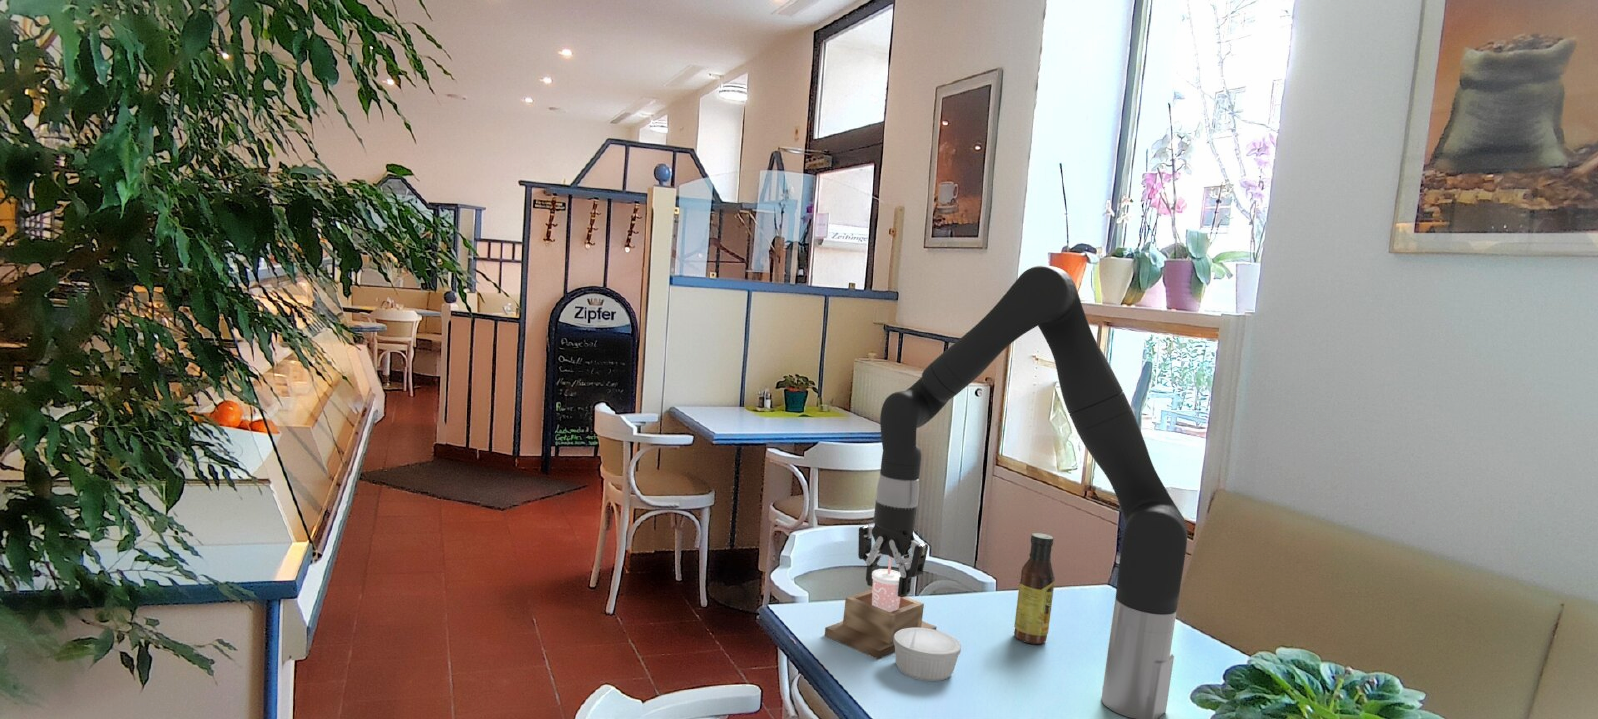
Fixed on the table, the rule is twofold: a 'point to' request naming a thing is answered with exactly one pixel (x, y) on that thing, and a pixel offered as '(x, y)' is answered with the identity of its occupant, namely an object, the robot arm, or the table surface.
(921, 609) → the cup holder
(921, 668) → the ramekin
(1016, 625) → the sauce bottle
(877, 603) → the beverage cup
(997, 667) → the table surface
